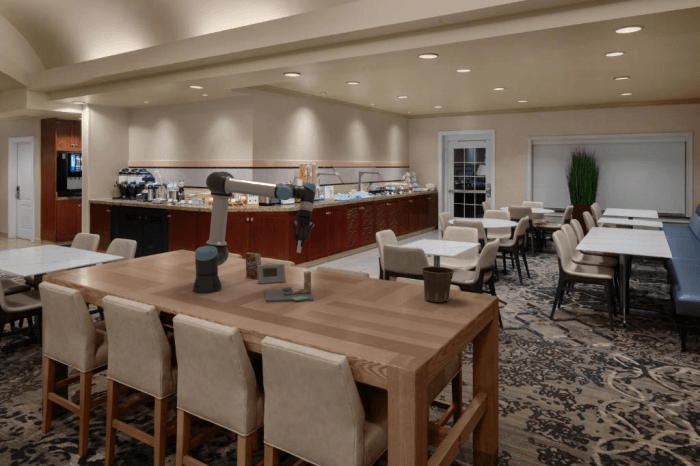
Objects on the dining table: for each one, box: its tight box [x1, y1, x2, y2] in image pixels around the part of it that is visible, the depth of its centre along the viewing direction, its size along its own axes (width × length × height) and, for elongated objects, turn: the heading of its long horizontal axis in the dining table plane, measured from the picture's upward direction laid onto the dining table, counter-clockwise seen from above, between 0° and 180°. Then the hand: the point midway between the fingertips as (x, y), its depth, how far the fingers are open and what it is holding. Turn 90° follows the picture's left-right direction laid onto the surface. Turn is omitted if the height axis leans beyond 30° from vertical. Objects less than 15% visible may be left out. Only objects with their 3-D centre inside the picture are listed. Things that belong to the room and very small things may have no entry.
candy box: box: [245, 252, 262, 280], centre depth 300 cm, size 9×4×15 cm, turn 61°
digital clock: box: [257, 263, 287, 285], centre depth 290 cm, size 16×9×11 cm, turn 97°
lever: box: [281, 270, 312, 294], centre depth 260 cm, size 15×5×11 cm, turn 109°
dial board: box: [265, 288, 314, 303], centre depth 258 cm, size 24×23×3 cm
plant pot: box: [421, 266, 455, 303], centre depth 253 cm, size 16×16×16 cm
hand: (298, 252), depth 268 cm, fingers closed
